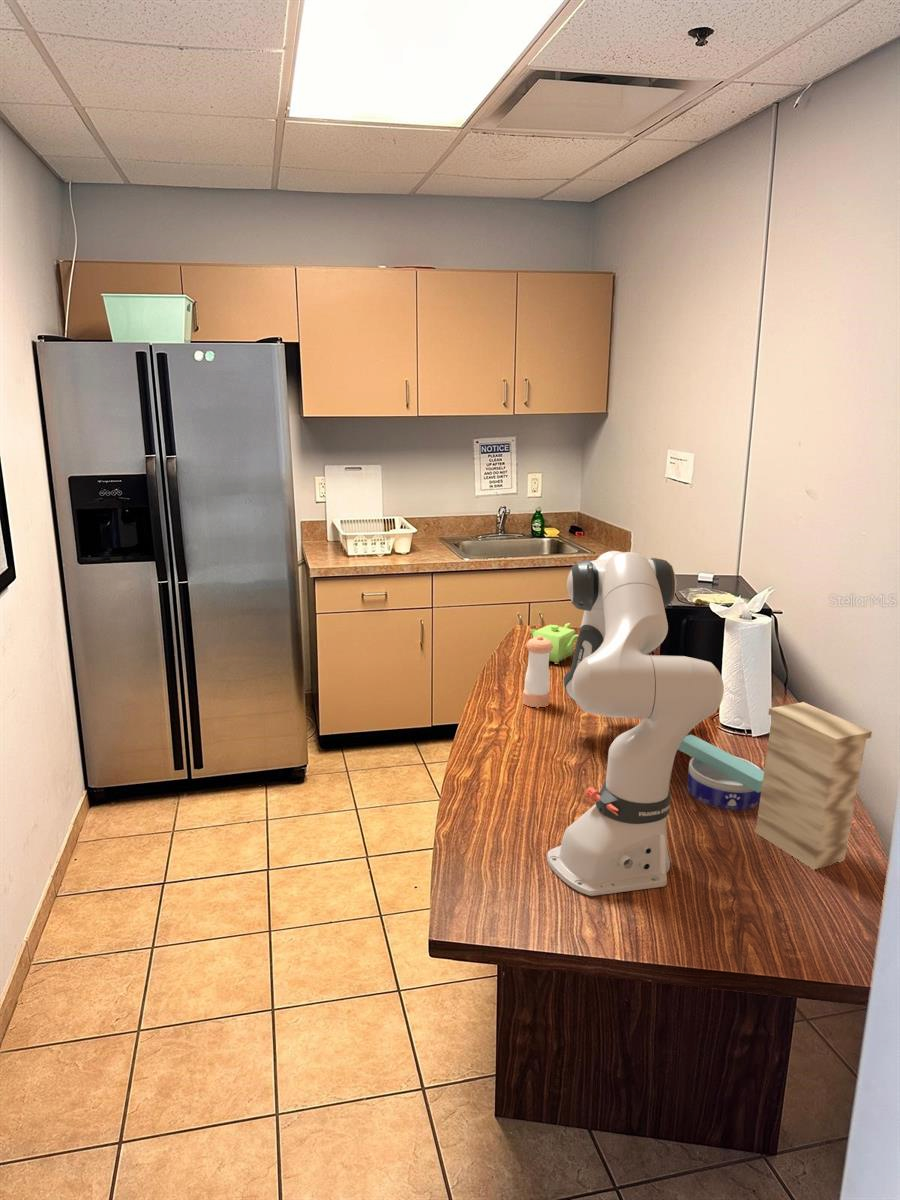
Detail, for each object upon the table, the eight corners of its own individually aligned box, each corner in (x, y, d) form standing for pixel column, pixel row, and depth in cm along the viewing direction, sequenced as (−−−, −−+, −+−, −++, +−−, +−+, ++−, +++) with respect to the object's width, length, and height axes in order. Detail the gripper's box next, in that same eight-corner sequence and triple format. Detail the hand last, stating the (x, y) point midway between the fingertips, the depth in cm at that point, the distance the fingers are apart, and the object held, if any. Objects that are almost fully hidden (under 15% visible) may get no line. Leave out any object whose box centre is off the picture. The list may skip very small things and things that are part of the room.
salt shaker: (518, 705, 220) (522, 637, 216) (527, 696, 227) (531, 630, 222) (544, 710, 218) (549, 641, 213) (552, 701, 224) (557, 634, 219)
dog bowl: (748, 779, 183) (751, 754, 182) (770, 813, 168) (774, 787, 167) (679, 775, 184) (682, 750, 182) (695, 809, 169) (698, 782, 167)
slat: (757, 792, 164) (759, 781, 163) (675, 748, 183) (676, 737, 183) (773, 788, 166) (774, 776, 166) (690, 744, 186) (691, 734, 185)
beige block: (814, 872, 147) (836, 739, 141) (751, 831, 160) (769, 708, 154) (848, 861, 151) (871, 731, 145) (784, 823, 164) (803, 701, 158)
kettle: (567, 651, 268) (570, 618, 265) (582, 666, 254) (585, 631, 251) (523, 653, 265) (525, 619, 262) (536, 667, 251) (539, 632, 248)
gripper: (608, 671, 193) (643, 659, 181) (676, 662, 201) (714, 650, 189) (614, 698, 192) (649, 687, 179) (682, 687, 200) (721, 677, 188)
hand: (683, 668), depth 184 cm, fingers open, 8 cm apart
